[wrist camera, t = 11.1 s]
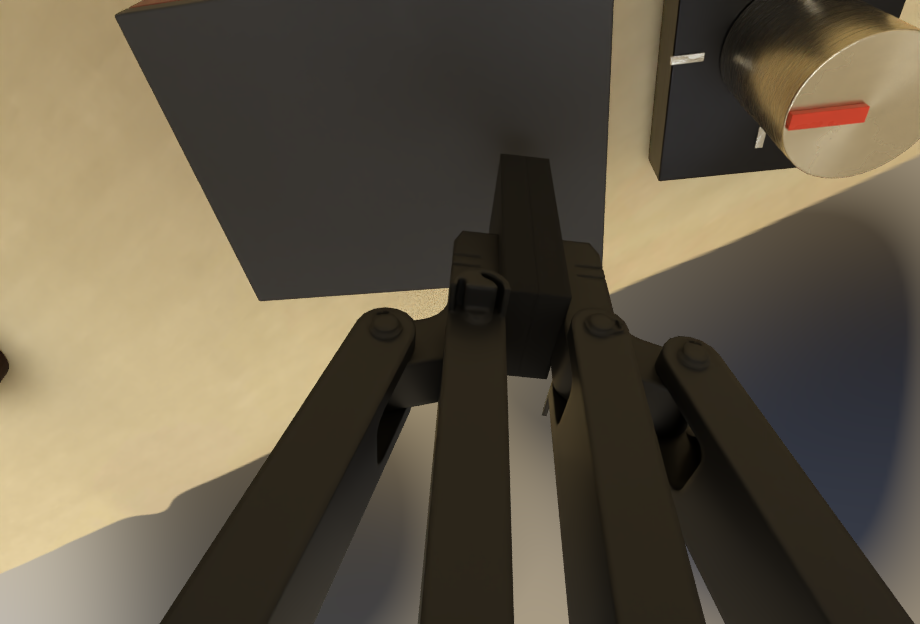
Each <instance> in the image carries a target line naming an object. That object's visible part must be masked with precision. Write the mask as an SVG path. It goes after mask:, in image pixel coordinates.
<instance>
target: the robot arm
mask: <svg viewBox="0 0 920 624" xmlns="http://www.w3.org/2000/svg"><path fill="white" fill-rule="evenodd" d="M550 367H551V370H552V379H553V380H552V383H551V386H550V389H549V392H548V395H547V398H546V401H545V404H544V408H543V413H542V415H543V416H546V415H547V413H548V410H550V420H551V432H552V442H553V452H554V463H555V475H556V486H557V496H558V507H559V518H560V528H561V540H562V551H563V561H564V573H565V583H566V594H567V605H568V616H569V624H706V622H705V618H704V615H703V611H702V607H701V603H700V599H699V596H698V592H697V588H696V584H695V580H694V577H693V573H692V569H691V565H690V561H689V558H688V554H687V550H686V546H687V548H688V550H689V552H690V554H691V556H692V558H693V560H694V562H695V564H696V566H697V568H698V570H699V572H700V574H701V576H702V578H703V580H704V582H705V584H706V586H707V588H708V590H709V592H710V594H711V596H712V598H713V600H714V602H715V604H716V606H717V608H718V611H719V613H720V615H721V616H722V618H723V620H724V623H725V624H914V622H913V621H912V620H911V618H910V617H909V616H908V614H907V613H906V612H905V610H904V609H903V607H902V606H901V605H900V603H899V602H898V601H897V599H896V598H895V597H894V595H893V593H892V592H891V591H890V589H889V588H888V587H887V585H886V584H885V582H884V581H883V580H882V578H881V577H880V576H879V574H878V573H877V571H876V570H875V569H874V567H873V566H872V565H871V563H870V562H869V560H868V559H867V558H866V557H865V555H864V553H863V552H862V551H861V549H860V548H859V547H858V546H857V544H856V543H855V541H854V540H853V538H852V537H851V536H850V534H849V533H848V531H847V530H846V529H845V527H844V526H843V525H842V523H841V522H840V520H839V519H838V518H837V516H836V515H835V514H834V512H833V511H832V510H831V508H830V507H829V505H828V504H827V502H826V501H825V500H824V498H823V497H822V496H821V494H820V493H819V491H818V490H817V489H816V487H815V486H814V485H813V483H812V482H811V480H810V479H809V478H808V476H807V475H806V474H805V472H804V471H803V469H802V468H801V467H800V465H799V464H798V463H797V461H796V460H795V459H794V457H793V456H792V454H791V453H790V452H789V450H788V449H787V447H786V446H785V445H784V444H783V442H782V440H781V439H780V438H779V436H778V435H777V434H776V432H775V431H774V430H773V428H772V427H771V425H770V424H769V423H768V421H767V420H766V419H765V417H764V416H763V414H762V413H761V412H760V410H759V409H758V407H757V406H756V405H755V403H754V402H753V401H752V399H751V398H750V396H749V395H748V394H747V392H746V391H745V389H744V388H743V387H742V386H741V384H740V383H739V381H738V380H737V378H736V377H735V376H734V374H733V373H732V372H731V370H730V369H729V368H728V366H727V365H726V363H725V362H724V361H723V359H722V358H721V356H720V355H719V354H718V353H717V352H716V351H715V350H714V349H713V348H712V347H711V346H709V345H707V344H706V343H704V342H702V341H700V340H697V339H694V338H691V337H683V336H678V337H674V338H670V339H669V340H668V341H667V342H666V343H665V344H664V346H663V347H661V346H659V345H656V344H652V343H650V342H647V341H644V340H641V339H639V338H637V337H635V336H633V335H631V334H630V333H629V329H628V328H627V325H626V324H625V322H624V321H623V320H622V319H621V318H620V317H619V316H618V315H616V314H614V312H613V308H612V304H611V300H610V296H609V292H608V287H607V283H606V280H605V275H604V271H603V270H602V263H601V259H600V255H599V254H598V252H597V251H596V250H595V249H594V248H593V247H592V245H591V244H590V243H586V242H576V241H567V240H562V234H561V228H560V222H559V216H558V210H557V204H556V198H555V192H554V185H553V179H552V173H551V167H550V161H549V159H546V158H537V157H528V156H519V155H510V154H501V155H500V162H499V168H498V174H497V181H496V187H495V194H494V200H493V206H492V213H491V219H490V225H489V233H480V232H471V231H462V232H461V233H460V234H459V235H458V237H457V238H456V239H455V240H454V246H453V256H452V265H451V274H450V284H449V294H448V303H447V305H446V307H445V308H444V310H442V311H441V312H440V313H439V314H437V315H435V316H432V317H430V318H426V319H421V320H413V319H412V318H411V317H410V316H409V315H408V314H407V313H405V312H403V311H401V310H398V309H394V308H386V307H385V308H377V309H373V310H371V311H368V312H366V313H364V314H363V315H362V316H361V317H360V318H359V319H358V320H357V322H356V323H355V325H354V326H353V328H352V329H351V331H350V332H349V334H348V335H347V337H346V338H345V340H344V341H343V343H342V345H341V346H340V348H339V349H338V351H337V352H336V354H335V355H334V357H333V358H332V360H331V361H330V363H329V364H328V366H327V368H326V369H325V371H324V372H323V374H322V375H321V377H320V378H319V380H318V381H317V383H316V384H315V386H314V388H313V389H312V391H311V392H310V394H309V395H308V397H307V398H306V400H305V401H304V403H303V404H302V406H301V407H300V409H299V411H298V412H297V414H296V415H295V417H294V418H293V420H292V421H291V423H290V424H289V426H288V427H287V429H286V431H285V432H284V434H283V435H282V437H281V438H280V440H279V441H278V443H277V444H276V446H275V447H274V449H273V450H272V452H271V454H270V455H269V457H268V458H267V460H266V461H265V463H264V464H263V466H262V467H261V469H260V470H259V472H258V474H257V475H256V477H255V478H254V480H253V481H252V483H251V484H250V486H249V487H248V489H247V490H246V492H245V493H244V495H243V497H242V498H241V500H240V501H239V503H238V504H237V506H236V507H235V509H234V510H233V512H232V513H231V515H230V516H229V518H228V520H227V521H226V523H225V524H224V526H223V527H222V529H221V531H220V532H219V533H218V535H217V536H216V538H215V540H214V541H213V543H212V544H211V546H210V547H209V549H208V550H207V552H206V553H205V555H204V556H203V558H202V560H201V561H200V563H199V564H198V566H197V567H196V569H195V570H194V572H193V573H192V575H191V576H190V578H189V579H188V581H187V582H186V584H185V586H184V587H183V589H182V590H181V592H180V593H179V595H178V596H177V598H176V599H175V601H174V602H173V604H172V606H171V607H170V609H169V610H168V612H167V613H166V615H165V616H164V618H163V620H162V621H161V623H160V624H314V622H315V619H316V617H317V615H318V613H319V611H320V609H321V606H322V604H323V602H324V599H325V597H326V595H327V593H328V591H329V588H330V586H331V584H332V582H333V580H334V578H335V575H336V573H337V571H338V569H339V566H340V564H341V562H342V560H343V558H344V556H345V553H346V551H347V549H348V547H349V545H350V542H351V540H352V538H353V536H354V534H355V531H356V529H357V527H358V525H359V523H360V520H361V518H362V516H363V514H364V512H365V509H366V507H367V505H368V503H369V501H370V498H371V496H372V494H373V492H374V490H375V487H376V485H377V483H378V481H379V479H380V476H381V474H382V472H383V470H384V467H385V465H386V463H387V461H388V459H389V456H390V454H391V452H392V450H393V448H394V445H395V443H396V441H397V439H398V437H399V434H400V432H401V430H402V428H403V426H404V423H405V421H406V419H407V417H408V415H409V412H410V409H411V407H414V406H419V405H424V404H429V403H435V402H438V410H437V420H436V431H435V442H434V454H433V463H432V474H431V485H430V496H429V508H428V519H427V529H426V541H425V551H424V563H423V573H422V584H421V595H420V606H419V616H418V624H514V607H513V575H512V573H513V572H512V539H511V538H512V537H511V502H510V466H509V431H508V396H507V375H509V376H520V377H530V378H540V379H547V377H548V373H549V370H550ZM685 544H686V546H685Z"/></svg>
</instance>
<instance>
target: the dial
mask: <svg viewBox="0 0 920 624" xmlns="http://www.w3.org/2000/svg"><path fill="white" fill-rule="evenodd" d="M720 70H721V76H722V79H723V82H724V84H725V86H726V88H727V89H728V90H729V92H730V93H731V94H732V95H733V96H734V97H735V98H736V100H737V101H738V102H739V103H740V104H741V105H742V106H743V108H744V109H745V110H746V111H747V112H748V113H749V114H750V116H751V117H752V118H753V119H754V120H755V121H756V122H757V124H758V125H759V126H760V127H761V128H762V129H763V130H764V132H765V133H766V134H767V135H768V136H769V137H770V138H771V140H772V141H773V142H774V143H775V144H776V145H777V146H778V148H779V149H780V150H781V151H782V152H783V153H784V154H785V156H786V157H787V158H788V159H789V160H790V161H791V162H792V164H793V165H795V166H796V167H797V168H798V169H799V170H801V171H803V172H805V173H807V174H810V175H812V176H817V177H821V178H843V177H850V176H854V175H858V174H862V173H864V172H867V171H870V170H873V169H875V168H877V167H879V166H882V165H883V164H885V163H887V162H889V161H891V160H892V159H894V158H896V157H897V156H899V155H900V154H902V153H903V152H904V151H906V150H907V149H908V148H910V147H911V146H912V145H913V144H914V143H915V142H916V141H918V140H919V139H920V29H919V28H917V27H915V26H913V25H911V24H909V23H907V22H905V21H903V20H901V19H899V18H896V17H894V16H892V15H890V14H888V13H886V12H884V11H882V10H880V9H878V8H876V7H874V6H872V5H870V4H868V3H866V2H864V1H862V0H754V1H753V2H752V3H751V4H750V5H749V6H748V7H747V8H746V9H745V10H744V11H743V12H742V13H741V14H740V16H739V17H738V18H737V20H736V21H735V22H734V24H733V25H732V27H731V29H730V30H729V33H728V35H727V37H726V39H725V42H724V45H723V48H722V52H721V59H720Z"/></svg>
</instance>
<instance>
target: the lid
mask: <svg viewBox="0 0 920 624" xmlns="http://www.w3.org/2000/svg"><path fill="white" fill-rule="evenodd" d="M613 7H614V0H180V1H174V2H167V3H161V4H154V5H148V6H141V7H135V8H128V9H125V10H123V11H121V12H119V13H117V14H116V15H115V18H116V20H117V22H118V24H119V26H120V28H121V30H122V32H123V34H124V36H125V38H126V40H127V42H128V44H129V46H130V48H131V50H132V52H133V54H134V56H135V58H136V60H137V61H138V63H139V65H140V67H141V69H142V71H143V73H144V75H145V77H146V79H147V81H148V83H149V85H150V87H151V89H152V91H153V93H154V95H155V97H156V99H157V101H158V103H159V105H160V107H161V109H162V111H163V113H164V115H165V117H166V119H167V120H168V122H169V124H170V126H171V128H172V130H173V132H174V134H175V136H176V138H177V140H178V142H179V144H180V146H181V148H182V150H183V152H184V154H185V156H186V158H187V160H188V162H189V164H190V166H191V168H192V170H193V172H194V174H195V176H196V178H197V180H198V181H199V183H200V185H201V187H202V189H203V191H204V193H205V195H206V197H207V199H208V201H209V203H210V205H211V207H212V209H213V211H214V213H215V215H216V217H217V219H218V221H219V223H220V225H221V227H222V229H223V231H224V233H225V235H226V237H227V239H228V241H229V242H230V244H231V246H232V248H233V250H234V252H235V254H236V256H237V258H238V260H239V262H240V264H241V266H242V268H243V270H244V272H245V274H246V276H247V278H248V280H249V282H250V284H251V286H252V288H253V290H254V292H255V294H256V296H257V298H258V300H259V301H270V300H284V299H298V298H312V297H326V296H340V295H354V294H368V293H382V292H396V291H410V290H424V289H438V288H449V284H450V274H451V265H452V256H453V246H454V240H455V239H456V238H457V237H458V235H459V234H460V233H461V232H462V231H471V232H480V233H489V225H490V219H491V213H492V206H493V200H494V194H495V187H496V181H497V174H498V168H499V162H500V155H501V154H510V155H519V156H528V157H537V158H546V159H549V161H550V167H551V173H552V179H553V185H554V192H555V198H556V204H557V210H558V216H559V222H560V228H561V234H562V240H567V241H576V242H586V243H590V244H591V245H592V247H593V248H594V249H595V250H596V251H597V252H598V254H599V255H600V259H601V263H602V259H603V236H604V213H605V190H606V167H607V144H608V121H609V98H610V75H611V53H612V30H613Z"/></svg>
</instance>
